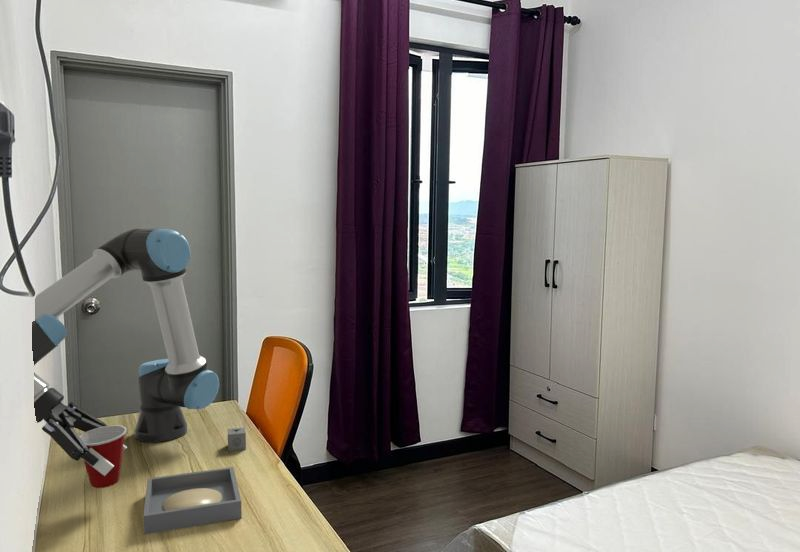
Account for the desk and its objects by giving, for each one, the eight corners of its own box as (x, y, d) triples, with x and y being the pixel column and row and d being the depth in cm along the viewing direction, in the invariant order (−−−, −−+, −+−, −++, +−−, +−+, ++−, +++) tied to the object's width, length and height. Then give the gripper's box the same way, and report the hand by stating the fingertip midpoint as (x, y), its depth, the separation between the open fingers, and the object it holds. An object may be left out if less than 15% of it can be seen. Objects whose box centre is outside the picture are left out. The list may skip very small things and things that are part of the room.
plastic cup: (72, 481, 141) (69, 431, 140) (122, 469, 148) (119, 421, 147) (83, 498, 133) (80, 445, 131) (135, 484, 139) (132, 433, 138)
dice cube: (245, 443, 180) (245, 427, 180) (246, 449, 176) (245, 432, 175) (228, 445, 179) (227, 428, 179) (228, 451, 174) (227, 434, 174)
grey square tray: (148, 494, 147) (147, 478, 146) (233, 482, 154) (233, 466, 153) (144, 534, 128) (143, 516, 128) (241, 518, 135) (241, 500, 135)
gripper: (45, 396, 147) (118, 453, 151) (1, 429, 124) (88, 495, 129) (67, 373, 147) (139, 431, 152) (27, 402, 125) (113, 469, 129)
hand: (116, 461), depth 140 cm, fingers closed on plastic cup, 10 cm apart
